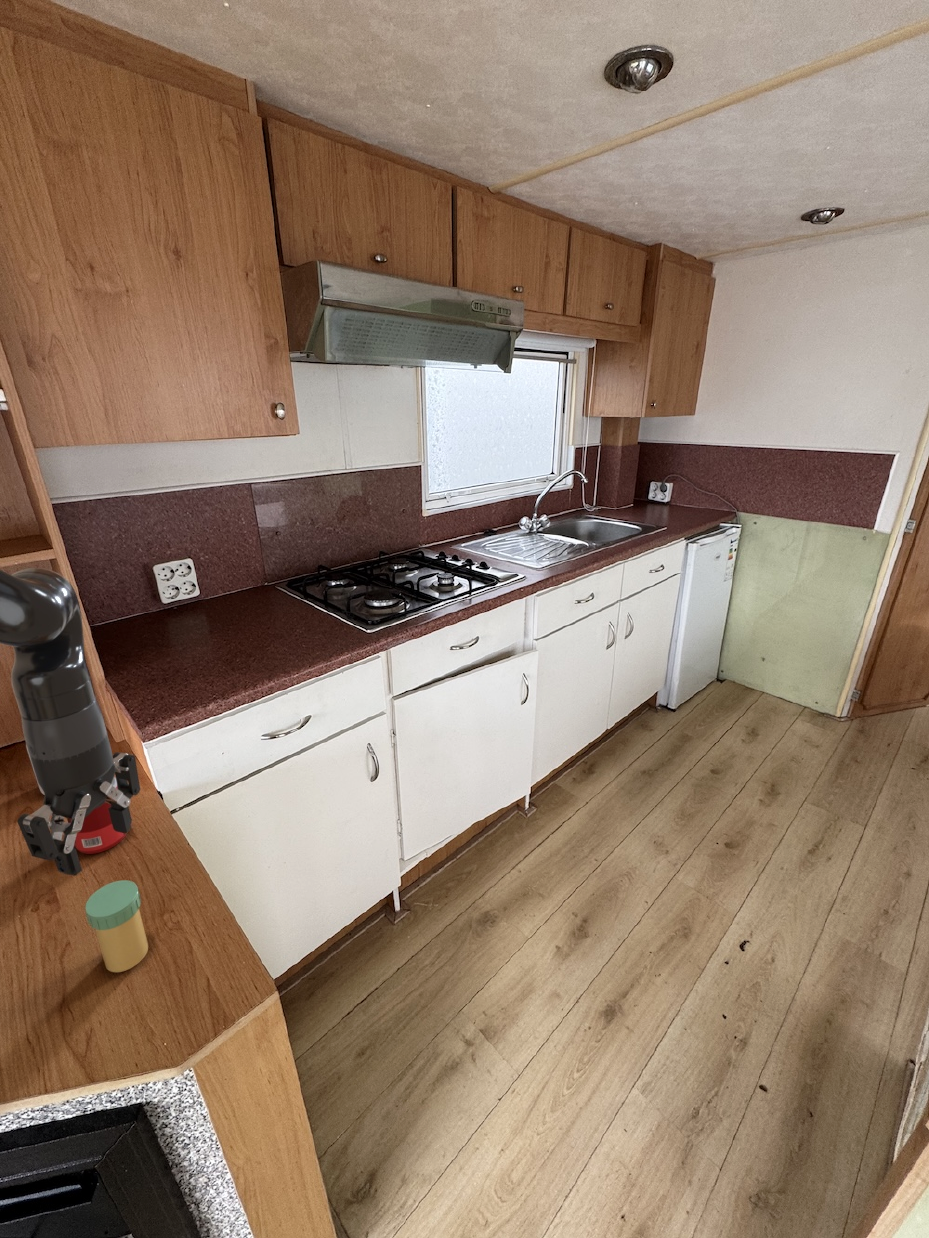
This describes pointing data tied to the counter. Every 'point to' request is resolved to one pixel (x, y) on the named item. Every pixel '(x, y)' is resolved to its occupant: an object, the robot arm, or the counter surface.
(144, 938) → the jar
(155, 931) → the counter surface
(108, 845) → the canned food
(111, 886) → the lid
